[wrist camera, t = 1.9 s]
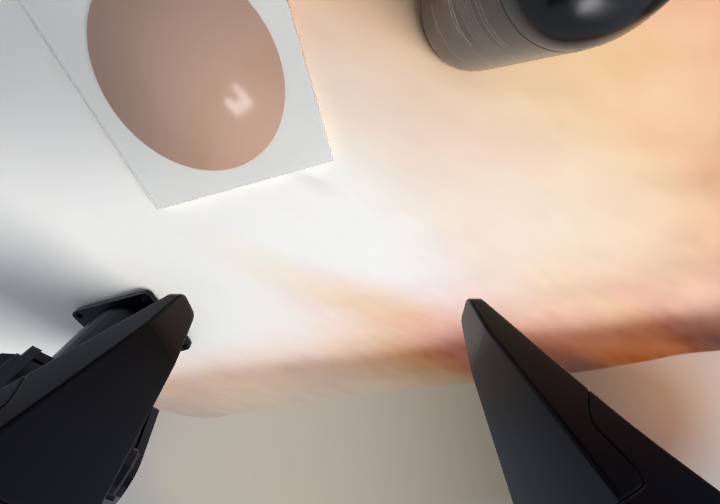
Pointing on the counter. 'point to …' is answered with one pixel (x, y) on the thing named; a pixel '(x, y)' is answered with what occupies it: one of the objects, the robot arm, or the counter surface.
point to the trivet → (191, 88)
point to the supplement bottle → (525, 28)
